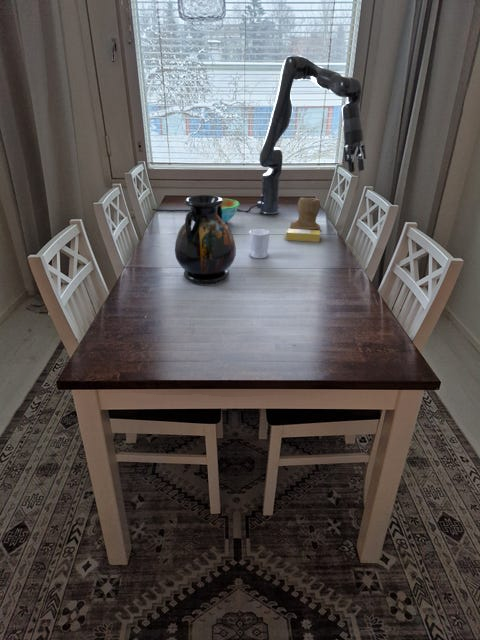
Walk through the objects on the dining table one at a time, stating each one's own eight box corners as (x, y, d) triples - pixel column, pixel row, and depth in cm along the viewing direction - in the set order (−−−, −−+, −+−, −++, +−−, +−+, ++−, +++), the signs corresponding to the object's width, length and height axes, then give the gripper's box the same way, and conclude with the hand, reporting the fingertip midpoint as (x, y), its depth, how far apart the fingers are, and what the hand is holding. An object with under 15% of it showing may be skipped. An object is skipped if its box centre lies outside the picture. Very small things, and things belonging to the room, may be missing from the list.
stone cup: (316, 225, 207) (319, 194, 199) (321, 232, 196) (325, 200, 189) (287, 225, 206) (288, 194, 199) (290, 232, 196) (292, 200, 189)
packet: (285, 240, 186) (286, 232, 184) (286, 235, 191) (287, 228, 190) (319, 242, 184) (320, 234, 182) (319, 237, 189) (320, 230, 187)
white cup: (270, 253, 171) (271, 230, 166) (265, 260, 164) (266, 235, 159) (252, 251, 173) (253, 228, 168) (246, 257, 167) (247, 233, 162)
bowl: (187, 226, 204) (186, 205, 199) (207, 215, 222) (206, 196, 217) (228, 231, 197) (228, 210, 192) (245, 219, 215) (246, 200, 210)
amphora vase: (213, 294, 137) (211, 210, 123) (164, 280, 147) (157, 201, 133) (247, 273, 153) (248, 196, 139) (200, 261, 163) (197, 189, 149)
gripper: (352, 133, 178) (356, 171, 182) (336, 133, 168) (340, 174, 172) (369, 128, 173) (372, 168, 177) (352, 128, 163) (356, 170, 167)
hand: (356, 171), depth 175 cm, fingers open, 8 cm apart
